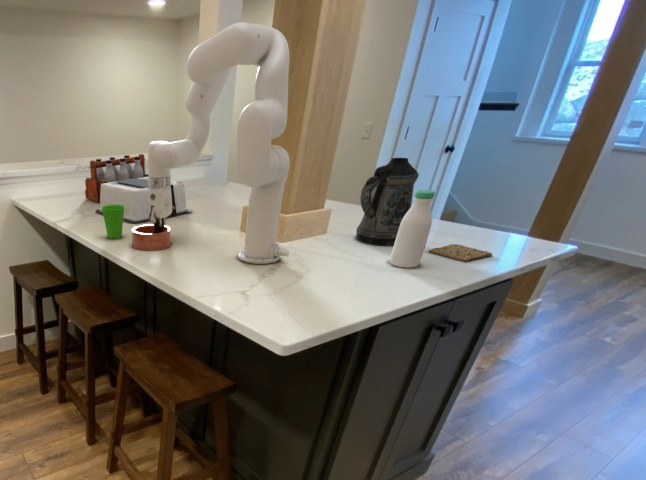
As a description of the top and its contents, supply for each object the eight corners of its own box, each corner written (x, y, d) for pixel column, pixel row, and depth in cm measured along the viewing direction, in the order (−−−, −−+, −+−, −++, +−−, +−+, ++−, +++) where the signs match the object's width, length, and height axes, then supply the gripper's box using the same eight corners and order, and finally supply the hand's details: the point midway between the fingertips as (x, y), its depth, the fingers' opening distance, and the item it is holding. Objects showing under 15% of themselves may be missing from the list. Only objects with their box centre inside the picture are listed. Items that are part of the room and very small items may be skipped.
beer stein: (414, 237, 152) (439, 156, 139) (396, 251, 141) (421, 164, 127) (364, 231, 162) (382, 154, 149) (343, 243, 151) (361, 161, 137)
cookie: (427, 251, 139) (428, 248, 138) (454, 245, 143) (455, 242, 142) (465, 261, 130) (466, 258, 129) (492, 255, 133) (494, 252, 133)
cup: (123, 240, 165) (122, 209, 159) (100, 240, 166) (97, 209, 160) (128, 234, 172) (127, 204, 166) (106, 234, 174) (104, 204, 168)
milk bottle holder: (81, 200, 235) (77, 159, 225) (134, 190, 252) (133, 152, 242) (103, 205, 221) (100, 162, 210) (157, 195, 238) (157, 155, 227)
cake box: (194, 212, 199) (195, 182, 193) (134, 224, 184) (133, 192, 178) (148, 201, 224) (148, 174, 217) (92, 212, 209) (89, 183, 202)
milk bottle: (417, 269, 126) (441, 194, 115) (387, 266, 130) (408, 192, 119) (419, 262, 131) (442, 189, 121) (390, 258, 135) (410, 187, 124)
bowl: (176, 242, 160) (176, 226, 157) (159, 252, 151) (158, 235, 148) (144, 238, 166) (144, 223, 163) (125, 247, 157) (124, 231, 154)
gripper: (158, 186, 145) (158, 243, 155) (179, 179, 156) (178, 232, 166) (138, 185, 148) (140, 241, 158) (160, 178, 159) (160, 231, 169)
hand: (159, 236), depth 162 cm, fingers closed on bowl, 1 cm apart
